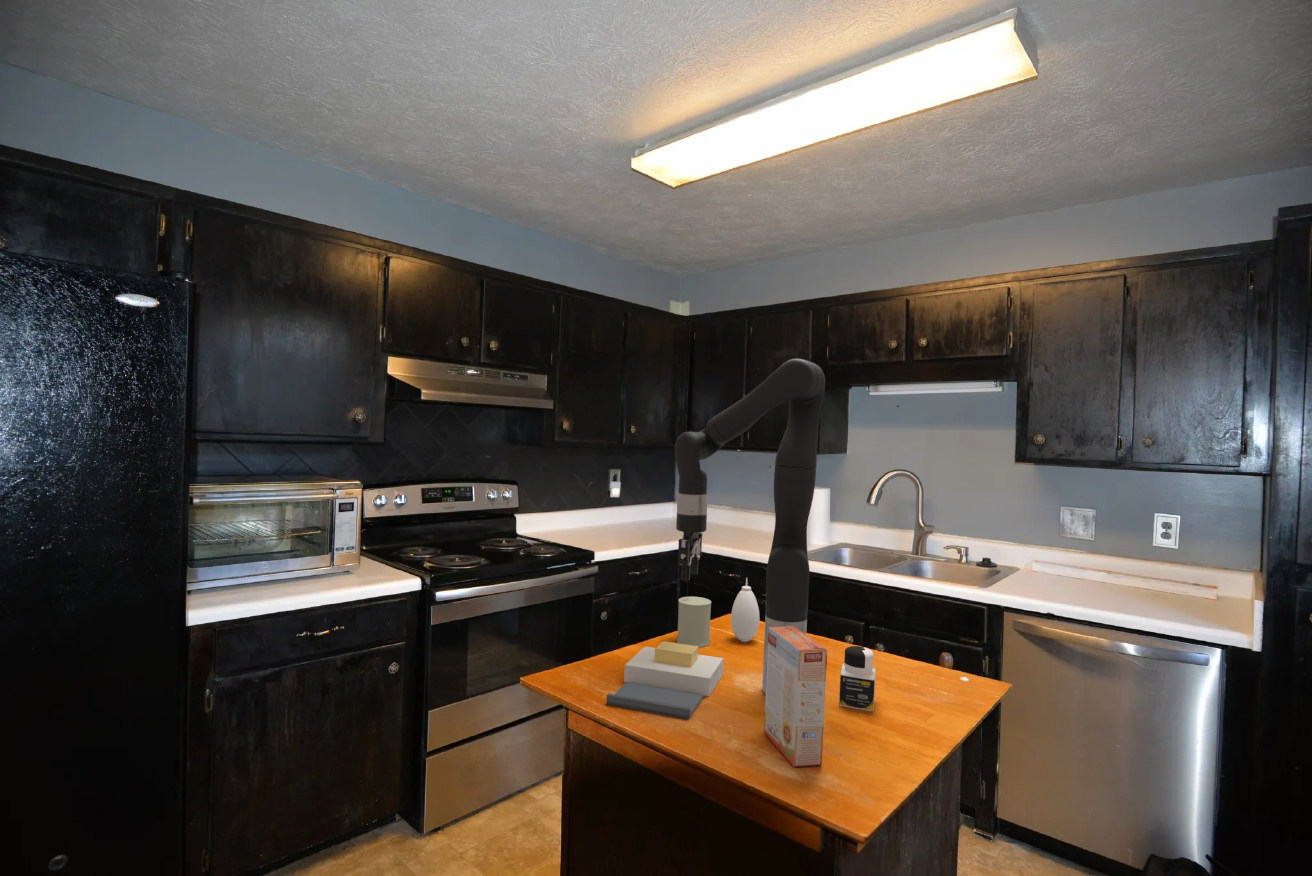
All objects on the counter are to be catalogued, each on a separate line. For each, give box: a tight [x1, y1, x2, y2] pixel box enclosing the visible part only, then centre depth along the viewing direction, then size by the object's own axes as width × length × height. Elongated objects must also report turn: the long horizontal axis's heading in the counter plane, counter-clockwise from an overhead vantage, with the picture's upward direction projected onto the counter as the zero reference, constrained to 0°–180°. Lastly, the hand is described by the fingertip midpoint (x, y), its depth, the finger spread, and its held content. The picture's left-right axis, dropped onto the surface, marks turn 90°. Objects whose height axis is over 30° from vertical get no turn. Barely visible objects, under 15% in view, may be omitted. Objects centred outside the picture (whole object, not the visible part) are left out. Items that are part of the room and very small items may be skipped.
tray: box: [606, 682, 705, 721], centre depth 140 cm, size 18×12×2 cm, turn 72°
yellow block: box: [654, 640, 700, 667], centre depth 154 cm, size 9×6×3 cm, turn 72°
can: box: [676, 596, 712, 648], centre depth 181 cm, size 9×9×12 cm
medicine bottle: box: [838, 645, 877, 712], centre depth 143 cm, size 7×7×12 cm
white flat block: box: [623, 646, 724, 697], centre depth 153 cm, size 20×14×4 cm
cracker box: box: [763, 626, 828, 768], centre depth 121 cm, size 14×6×21 cm, turn 12°
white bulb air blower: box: [730, 577, 760, 643], centre depth 183 cm, size 8×8×18 cm
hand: (689, 577), depth 162 cm, fingers open, 7 cm apart
